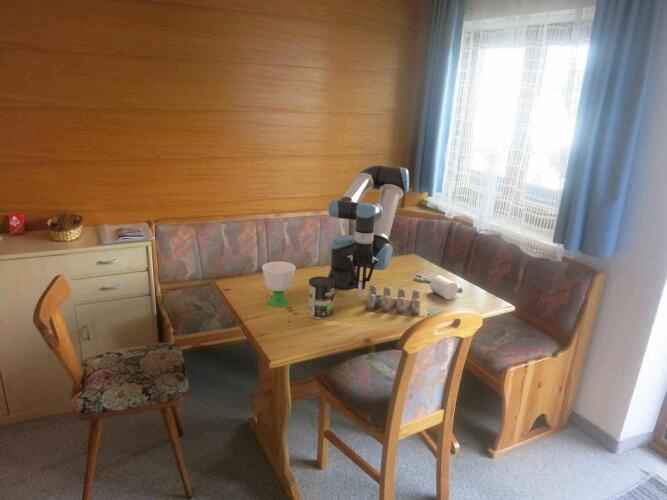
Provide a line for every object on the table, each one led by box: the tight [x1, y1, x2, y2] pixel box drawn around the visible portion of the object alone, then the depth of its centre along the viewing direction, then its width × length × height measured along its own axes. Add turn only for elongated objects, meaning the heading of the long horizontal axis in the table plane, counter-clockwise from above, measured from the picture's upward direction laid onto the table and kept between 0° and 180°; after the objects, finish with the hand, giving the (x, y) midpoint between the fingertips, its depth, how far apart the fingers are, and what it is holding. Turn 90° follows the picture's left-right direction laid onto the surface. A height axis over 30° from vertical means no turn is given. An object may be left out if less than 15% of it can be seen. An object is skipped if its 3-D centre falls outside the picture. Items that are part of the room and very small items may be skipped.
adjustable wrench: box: [414, 274, 464, 293], centre depth 230 cm, size 25×6×2 cm, turn 46°
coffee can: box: [307, 276, 336, 320], centre depth 191 cm, size 10×10×14 cm
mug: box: [429, 274, 461, 300], centre depth 217 cm, size 12×10×8 cm
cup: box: [261, 260, 297, 308], centre depth 199 cm, size 14×14×16 cm
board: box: [364, 284, 421, 318], centre depth 200 cm, size 22×16×7 cm
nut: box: [374, 294, 383, 307], centre depth 201 cm, size 4×5×4 cm
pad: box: [426, 306, 442, 317], centre depth 199 cm, size 8×7×1 cm
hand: (359, 296), depth 201 cm, fingers closed
